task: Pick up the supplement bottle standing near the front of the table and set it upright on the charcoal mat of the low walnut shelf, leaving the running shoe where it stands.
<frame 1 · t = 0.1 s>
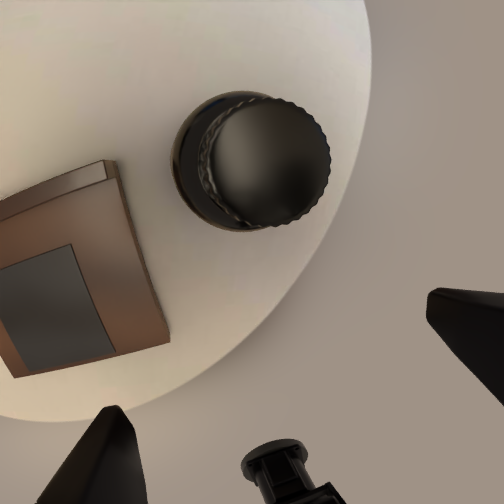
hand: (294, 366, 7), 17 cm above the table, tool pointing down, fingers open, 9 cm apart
supplement bottle: (216, 161, 22), on the table
shelf: (50, 281, 20), on the table
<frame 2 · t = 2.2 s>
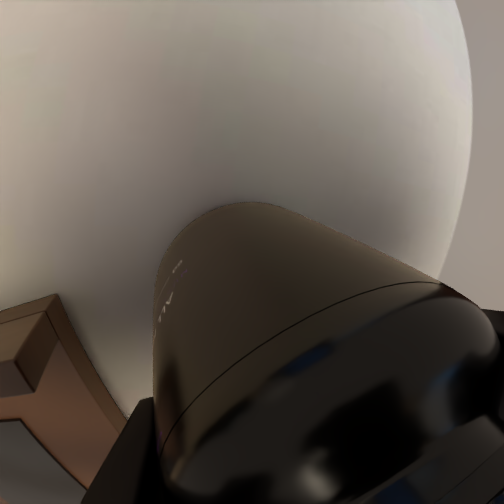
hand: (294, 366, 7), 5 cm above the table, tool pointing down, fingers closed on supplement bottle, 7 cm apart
supplement bottle: (242, 288, 12), on the table, touching gripper
shelf: (11, 435, 11), on the table
when the fingers open (7 cm above the table, at t = 7.2 s): supplement bottle stays where it is, resting on shelf.
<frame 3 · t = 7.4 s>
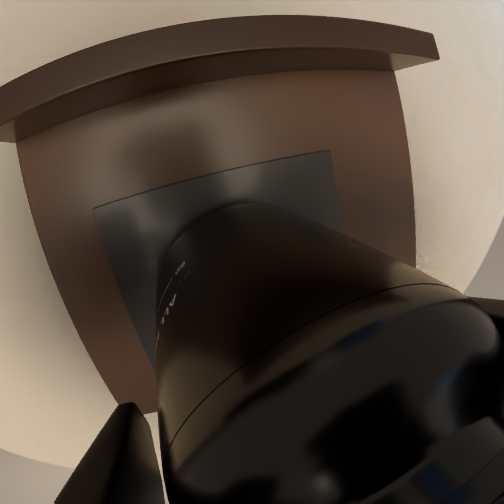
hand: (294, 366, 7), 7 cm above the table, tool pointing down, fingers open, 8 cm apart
supplement bottle: (244, 289, 12), point 2 cm above the table, touching shelf
shelf: (246, 224, 13), on the table
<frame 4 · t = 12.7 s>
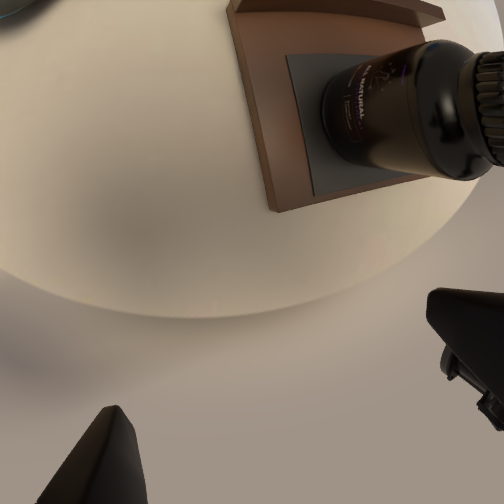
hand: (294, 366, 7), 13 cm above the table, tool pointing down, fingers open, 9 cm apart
supplement bottle: (361, 118, 18), point 2 cm above the table, touching shelf
shelf: (354, 92, 19), on the table
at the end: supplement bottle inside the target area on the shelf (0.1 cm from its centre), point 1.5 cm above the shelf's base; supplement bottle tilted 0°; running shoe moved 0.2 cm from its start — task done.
